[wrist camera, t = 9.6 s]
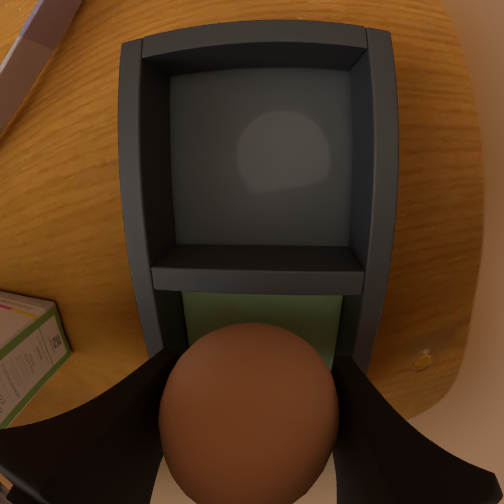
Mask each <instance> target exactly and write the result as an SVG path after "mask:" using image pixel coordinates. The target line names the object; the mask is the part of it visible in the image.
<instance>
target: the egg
mask: <svg viewBox="0 0 504 504" xmlns="http://www.w3.org/2000/svg"><path fill="white" fill-rule="evenodd" d="M158 424H159V431H160V438H161V444H162V451H163V455H164V457H165V460H166V463H167V465H168V468H169V470H170V473H171V475H172V477H173V478H174V480H175V481H176V483H177V484H178V485H179V487H180V488H181V489H182V491H183V492H184V493H185V494H186V495H187V496H188V497H189V498H190V499H192V500H193V501H194V502H196V503H197V504H293V503H294V502H295V501H297V500H298V499H299V498H300V497H302V496H303V495H305V494H306V493H307V492H308V490H309V489H310V488H311V487H312V485H313V484H314V483H315V481H316V480H317V479H318V477H319V476H320V475H321V473H322V472H323V470H324V468H325V466H326V464H327V461H328V459H329V457H330V455H331V453H332V450H333V448H334V446H335V443H336V439H337V433H338V427H339V403H338V395H337V391H336V387H335V384H334V380H333V377H332V374H331V371H330V370H329V368H328V366H327V365H326V363H325V362H324V360H323V359H322V358H321V356H320V355H319V354H318V352H317V351H316V350H315V349H314V348H313V347H312V346H311V345H310V344H309V343H308V342H306V341H305V340H304V339H302V338H301V337H299V336H297V335H295V334H294V333H292V332H290V331H289V330H286V329H284V328H282V327H279V326H274V325H269V324H265V323H260V322H249V323H241V324H234V325H228V326H226V327H223V328H220V329H217V330H215V331H212V332H210V333H208V334H207V335H205V336H203V337H202V338H200V339H198V340H197V341H196V342H195V343H194V344H193V345H192V346H191V347H190V348H189V349H188V350H187V351H186V352H185V353H184V354H183V355H182V356H181V357H180V358H179V360H178V361H177V363H176V365H175V366H174V368H173V370H172V371H171V373H170V374H169V377H168V380H167V383H166V386H165V389H164V392H163V395H162V398H161V401H160V408H159V417H158Z"/></svg>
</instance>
